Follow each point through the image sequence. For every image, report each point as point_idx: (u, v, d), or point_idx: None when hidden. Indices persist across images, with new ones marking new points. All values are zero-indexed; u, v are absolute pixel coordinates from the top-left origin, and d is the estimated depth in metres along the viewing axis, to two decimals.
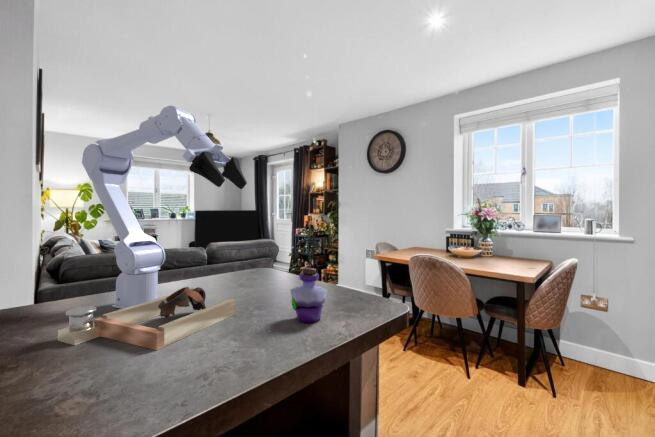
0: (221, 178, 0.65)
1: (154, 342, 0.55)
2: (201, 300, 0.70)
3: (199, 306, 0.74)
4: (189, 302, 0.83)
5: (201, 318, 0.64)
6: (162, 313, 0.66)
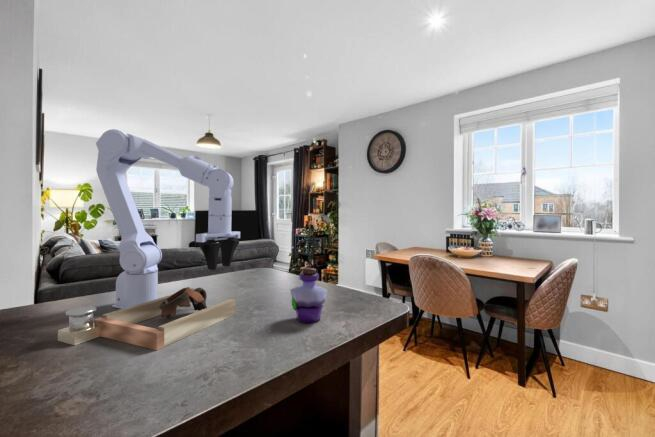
0: (213, 267, 0.78)
1: (154, 342, 0.55)
2: (202, 300, 0.70)
3: (200, 306, 0.74)
4: (189, 302, 0.83)
5: (201, 318, 0.64)
6: (163, 314, 0.66)
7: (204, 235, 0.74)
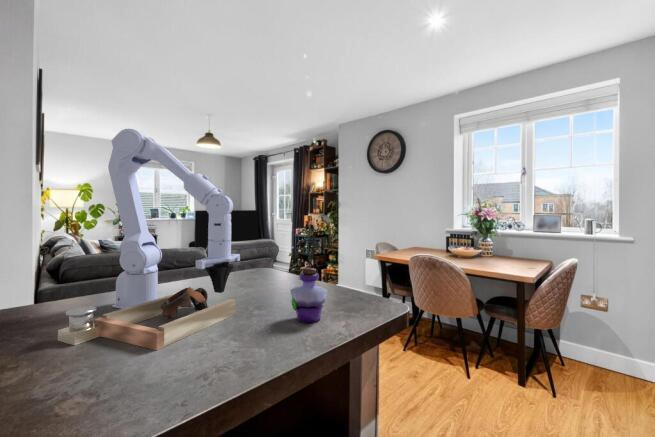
0: (220, 290, 0.80)
1: (154, 342, 0.55)
2: (203, 300, 0.70)
3: (201, 306, 0.74)
4: None
5: (201, 318, 0.64)
6: (164, 314, 0.66)
7: (204, 261, 0.75)
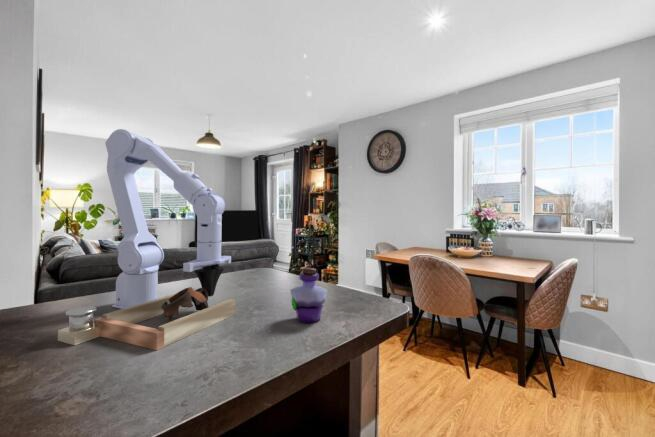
0: (209, 294, 0.77)
1: (154, 342, 0.55)
2: (204, 300, 0.70)
3: (202, 306, 0.74)
4: None
5: (201, 318, 0.64)
6: (165, 314, 0.66)
7: (192, 264, 0.71)
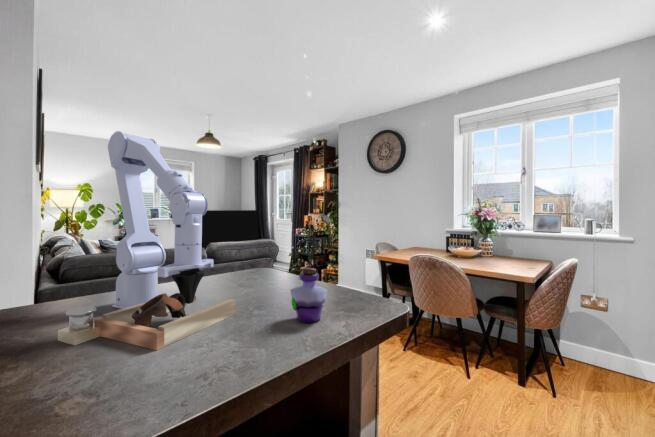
0: (188, 301, 0.70)
1: (154, 342, 0.55)
2: (181, 308, 0.64)
3: (178, 314, 0.68)
4: None
5: (201, 318, 0.64)
6: None
7: (167, 269, 0.65)
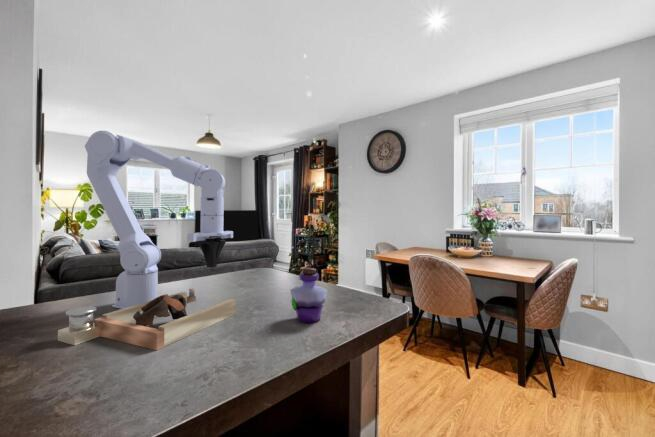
0: (212, 265, 0.81)
1: (154, 342, 0.55)
2: (182, 309, 0.64)
3: (179, 315, 0.67)
4: (188, 302, 0.83)
5: (201, 318, 0.64)
6: None
7: (195, 234, 0.75)
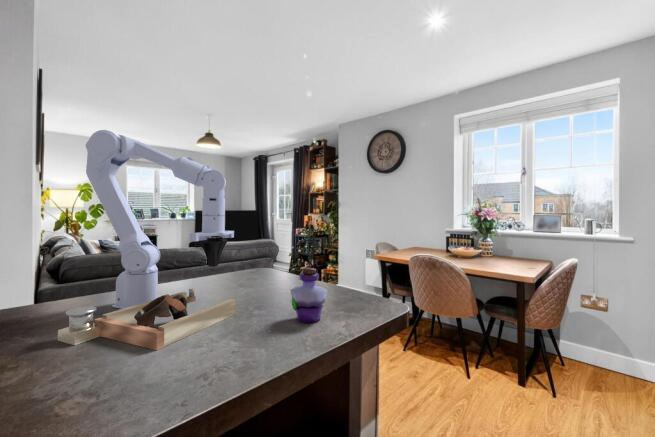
0: (214, 264, 0.82)
1: (154, 342, 0.55)
2: (183, 309, 0.64)
3: (180, 315, 0.67)
4: (188, 302, 0.83)
5: (201, 318, 0.64)
6: None
7: (198, 234, 0.76)
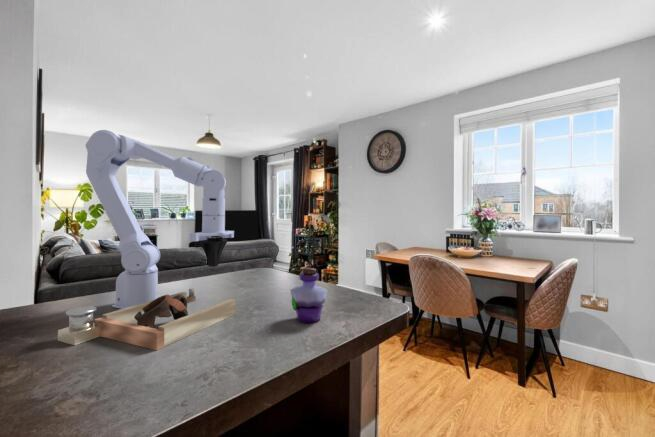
0: (214, 264, 0.82)
1: (154, 342, 0.55)
2: (184, 309, 0.64)
3: (180, 315, 0.67)
4: (187, 302, 0.83)
5: (201, 318, 0.64)
6: None
7: (198, 234, 0.76)
